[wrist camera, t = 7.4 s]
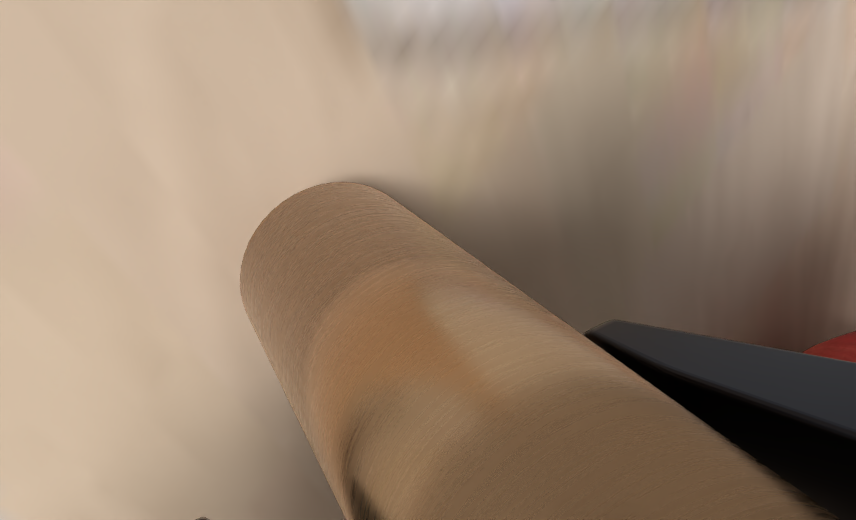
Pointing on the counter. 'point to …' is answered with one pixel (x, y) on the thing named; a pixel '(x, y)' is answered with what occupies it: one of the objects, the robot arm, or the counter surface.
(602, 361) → the lever
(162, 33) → the counter surface
